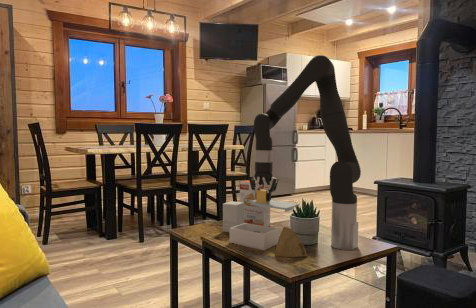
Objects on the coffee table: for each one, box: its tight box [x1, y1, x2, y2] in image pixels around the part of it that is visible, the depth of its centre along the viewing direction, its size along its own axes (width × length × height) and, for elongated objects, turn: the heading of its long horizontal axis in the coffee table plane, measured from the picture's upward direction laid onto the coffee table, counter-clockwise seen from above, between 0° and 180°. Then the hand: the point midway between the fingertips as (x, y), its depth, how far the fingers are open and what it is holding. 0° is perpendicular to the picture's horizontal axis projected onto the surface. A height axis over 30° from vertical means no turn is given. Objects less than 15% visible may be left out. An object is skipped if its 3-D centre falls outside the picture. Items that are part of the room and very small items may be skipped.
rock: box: [273, 226, 308, 258], centre depth 132 cm, size 11×9×10 cm
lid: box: [250, 189, 300, 212], centre depth 158 cm, size 20×12×7 cm, turn 54°
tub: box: [228, 223, 280, 251], centre depth 148 cm, size 16×11×6 cm
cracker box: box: [239, 179, 271, 227], centre depth 177 cm, size 14×6×21 cm, turn 53°
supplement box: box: [222, 200, 244, 233], centre depth 167 cm, size 7×7×13 cm
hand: (263, 200), depth 160 cm, fingers closed on lid, 4 cm apart
